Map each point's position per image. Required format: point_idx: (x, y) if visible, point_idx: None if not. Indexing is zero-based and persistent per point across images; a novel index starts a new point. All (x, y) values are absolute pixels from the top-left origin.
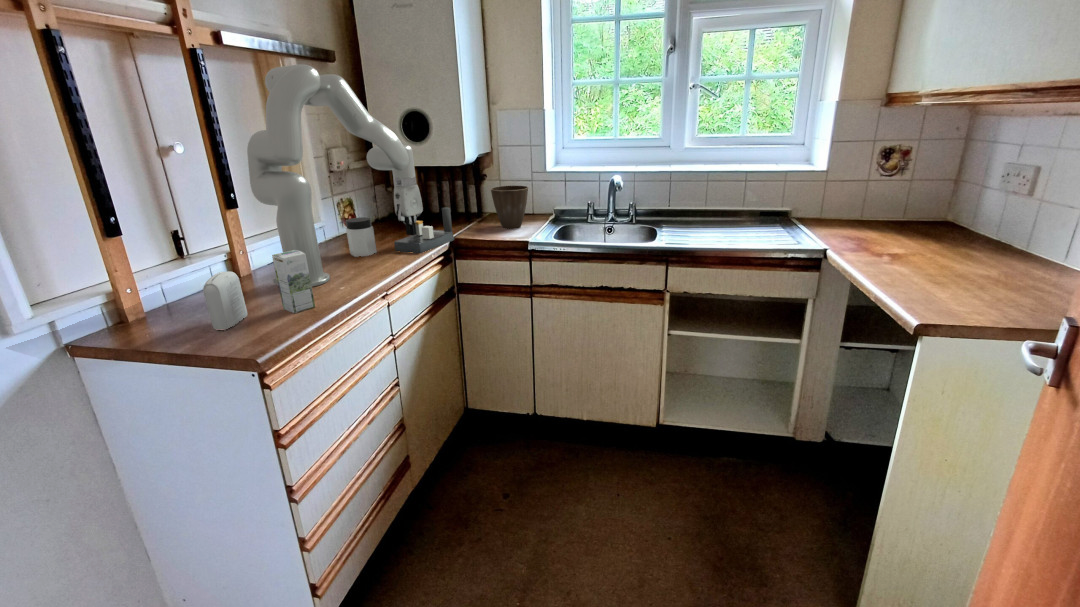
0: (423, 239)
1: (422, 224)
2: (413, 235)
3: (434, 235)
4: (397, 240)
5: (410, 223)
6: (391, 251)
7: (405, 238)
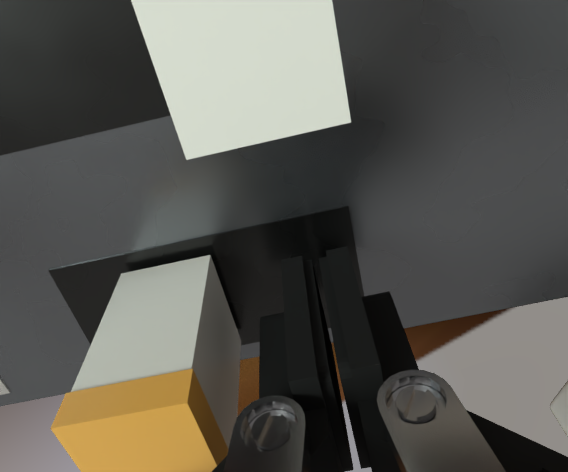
0: None
1: (85, 374)
2: None
3: (41, 95)
4: (510, 304)
5: (423, 391)
6: None
7: None
